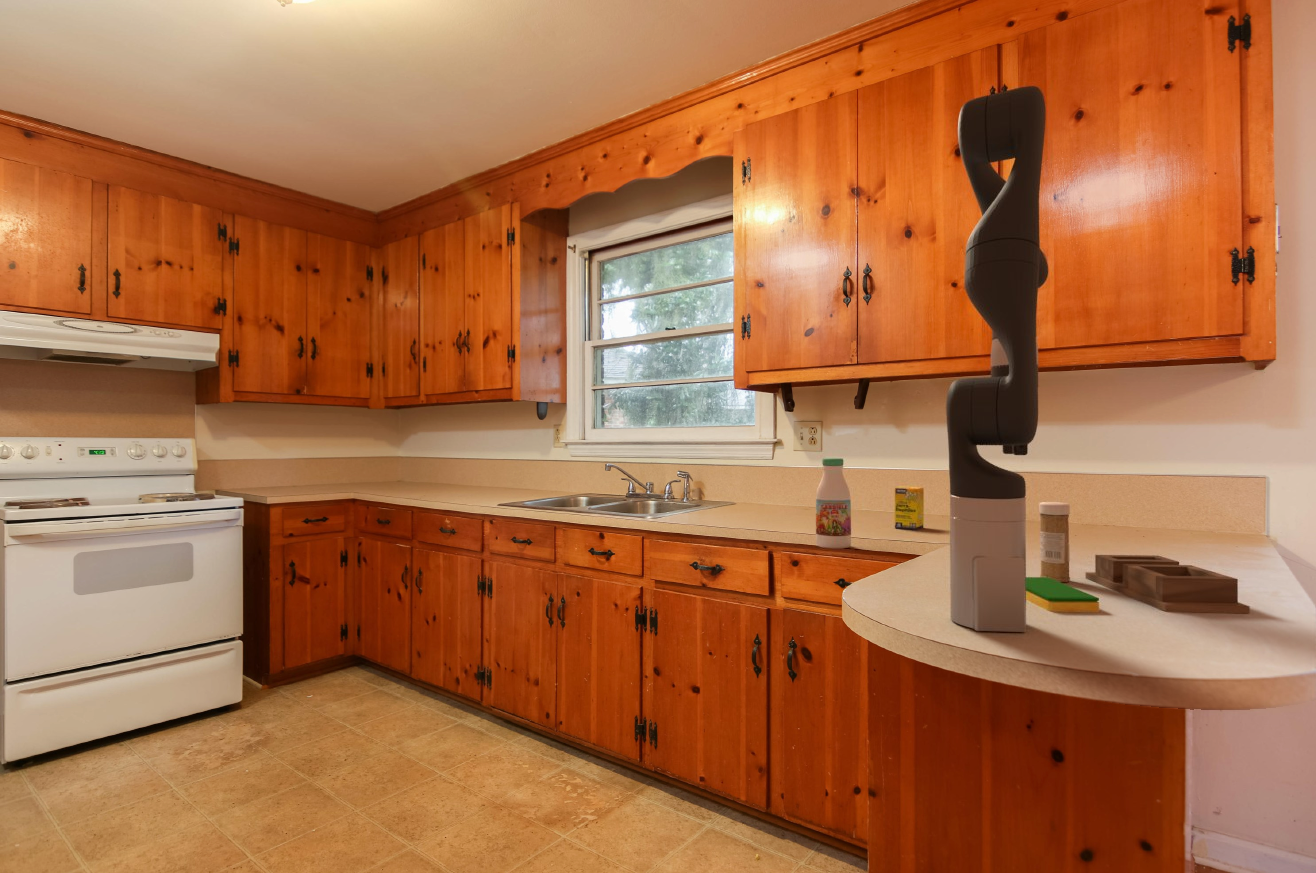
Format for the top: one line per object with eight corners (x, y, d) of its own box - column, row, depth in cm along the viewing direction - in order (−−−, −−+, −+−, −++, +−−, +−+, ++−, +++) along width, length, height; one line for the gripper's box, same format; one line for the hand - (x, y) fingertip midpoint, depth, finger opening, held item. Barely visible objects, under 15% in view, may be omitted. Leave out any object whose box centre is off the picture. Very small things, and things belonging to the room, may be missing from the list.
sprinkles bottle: (1075, 580, 116) (1074, 502, 116) (1061, 584, 113) (1061, 504, 113) (1047, 575, 120) (1047, 500, 119) (1034, 579, 117) (1033, 502, 117)
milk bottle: (811, 543, 155) (810, 457, 155) (843, 543, 156) (843, 457, 156) (822, 549, 148) (821, 459, 148) (856, 548, 148) (855, 458, 148)
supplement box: (894, 528, 178) (894, 487, 178) (901, 525, 183) (901, 486, 183) (917, 530, 175) (917, 488, 175) (924, 527, 180) (923, 486, 180)
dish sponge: (1048, 591, 110) (1048, 576, 110) (1100, 614, 96) (1100, 597, 96) (1004, 591, 110) (1004, 576, 110) (1049, 614, 97) (1049, 597, 96)
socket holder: (1249, 613, 95) (1249, 581, 94) (1165, 611, 96) (1165, 579, 96) (1153, 578, 116) (1153, 553, 116) (1085, 577, 118) (1085, 552, 118)
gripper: (1048, 359, 112) (1048, 456, 113) (1027, 367, 126) (1028, 453, 126) (999, 361, 115) (999, 455, 115) (984, 368, 128) (984, 453, 128)
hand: (1014, 454), depth 120 cm, fingers open, 8 cm apart
